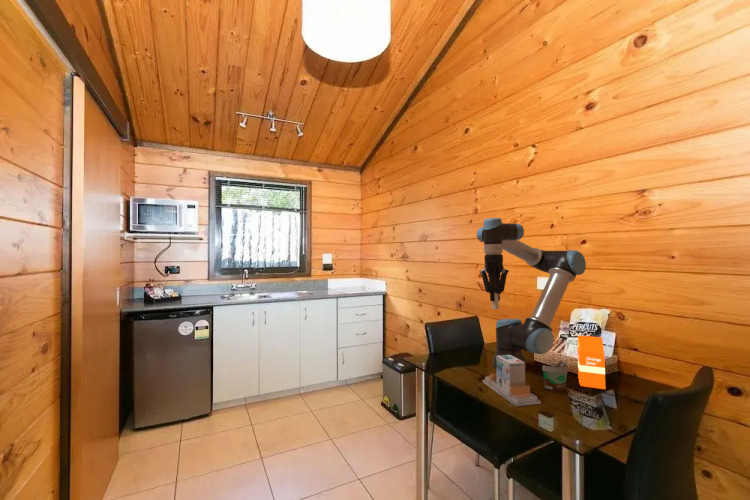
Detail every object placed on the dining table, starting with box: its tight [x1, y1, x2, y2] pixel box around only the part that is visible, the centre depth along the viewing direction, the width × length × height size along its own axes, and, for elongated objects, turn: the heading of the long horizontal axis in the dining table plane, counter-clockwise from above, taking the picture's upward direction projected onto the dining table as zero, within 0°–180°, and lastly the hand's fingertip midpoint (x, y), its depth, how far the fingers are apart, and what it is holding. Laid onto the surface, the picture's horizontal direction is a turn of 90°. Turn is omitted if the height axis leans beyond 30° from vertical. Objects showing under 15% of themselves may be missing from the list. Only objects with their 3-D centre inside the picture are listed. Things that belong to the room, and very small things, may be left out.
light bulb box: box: [495, 355, 526, 390], centre depth 133 cm, size 11×7×11 cm, turn 8°
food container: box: [541, 360, 570, 393], centre depth 134 cm, size 12×6×10 cm, turn 117°
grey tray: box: [482, 372, 542, 407], centre depth 132 cm, size 10×24×5 cm, turn 11°
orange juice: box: [577, 335, 606, 390], centre depth 140 cm, size 8×9×20 cm
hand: (495, 308), depth 143 cm, fingers closed
